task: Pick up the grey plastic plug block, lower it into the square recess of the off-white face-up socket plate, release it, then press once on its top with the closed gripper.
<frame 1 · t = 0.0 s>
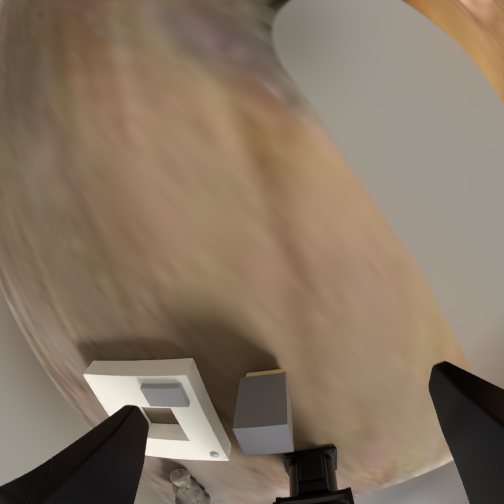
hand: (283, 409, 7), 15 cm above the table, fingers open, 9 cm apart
plug: (266, 383, 25), on the table
socket plate: (163, 408, 27), on the table
stone: (189, 480, 33), on the table
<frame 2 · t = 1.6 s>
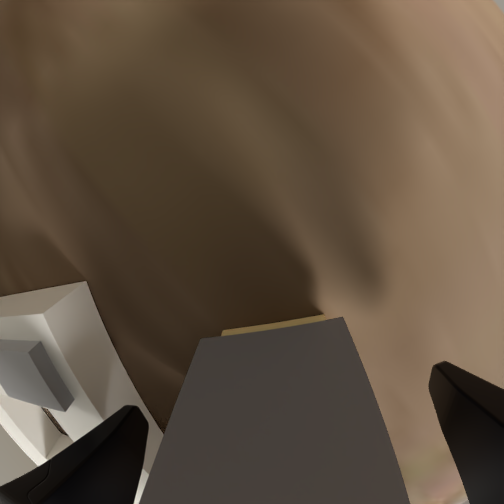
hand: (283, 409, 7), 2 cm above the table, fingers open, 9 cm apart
plug: (280, 362, 9), on the table
socket plate: (66, 410, 11), on the table
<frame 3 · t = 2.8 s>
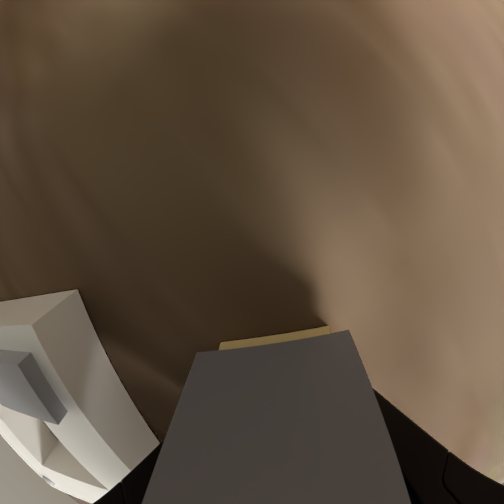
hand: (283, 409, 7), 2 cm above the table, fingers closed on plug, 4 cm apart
plug: (282, 375, 9), on the table, touching gripper
socket plate: (62, 417, 11), on the table
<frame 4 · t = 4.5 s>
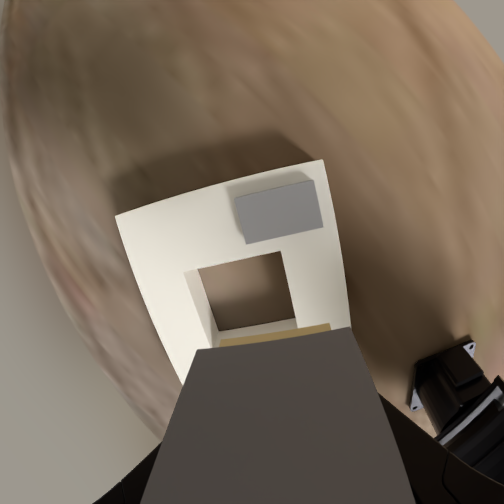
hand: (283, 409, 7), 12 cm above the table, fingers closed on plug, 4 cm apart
plug: (282, 372, 9), point 10 cm above the table, touching gripper
socket plate: (246, 289, 19), on the table
when the fingers open (3 cm above the table, at t = 6.5 s): plug drops 1 cm, resting in socket plate.
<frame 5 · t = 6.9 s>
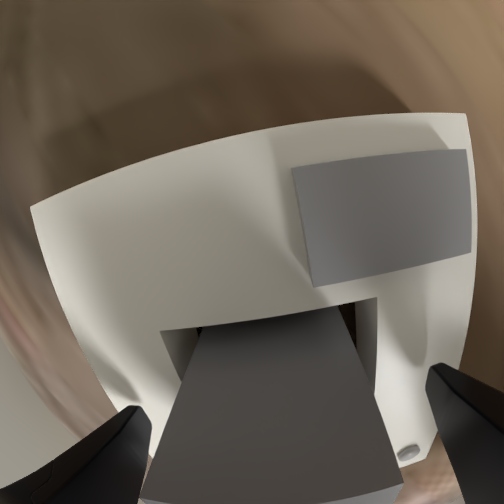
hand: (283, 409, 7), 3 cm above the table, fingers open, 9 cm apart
plug: (279, 346, 10), resting in socket plate
socket plate: (280, 348, 10), on the table
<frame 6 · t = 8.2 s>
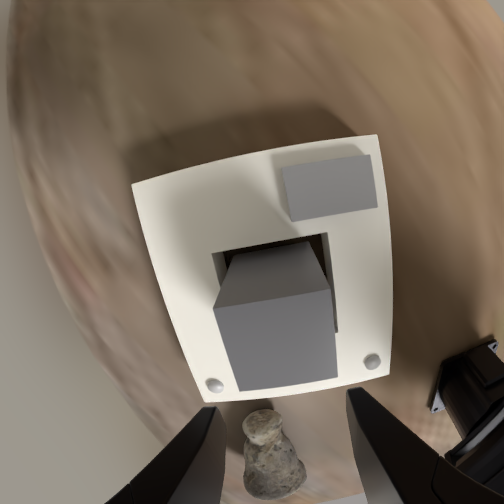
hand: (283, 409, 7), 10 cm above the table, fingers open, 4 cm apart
plug: (277, 276, 17), resting in socket plate
socket plate: (278, 277, 17), on the table
stone: (267, 439, 22), on the table
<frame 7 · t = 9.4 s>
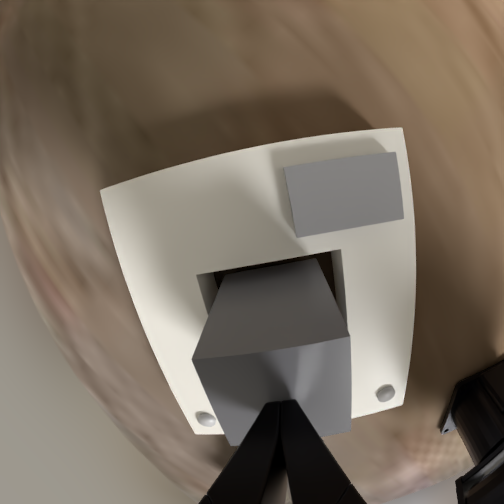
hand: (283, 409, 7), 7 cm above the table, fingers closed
plug: (277, 297, 14), resting in socket plate
socket plate: (278, 299, 14), on the table
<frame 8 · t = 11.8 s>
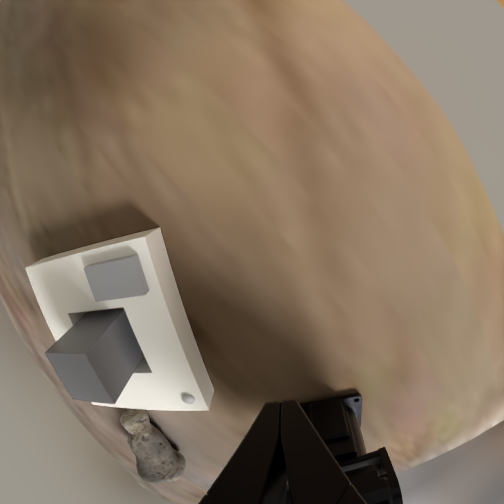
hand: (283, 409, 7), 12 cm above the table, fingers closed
plug: (121, 326, 21), resting in socket plate
socket plate: (121, 327, 21), on the table
stone: (155, 433, 26), on the table
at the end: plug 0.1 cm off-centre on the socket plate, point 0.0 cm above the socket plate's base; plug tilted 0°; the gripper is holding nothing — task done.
